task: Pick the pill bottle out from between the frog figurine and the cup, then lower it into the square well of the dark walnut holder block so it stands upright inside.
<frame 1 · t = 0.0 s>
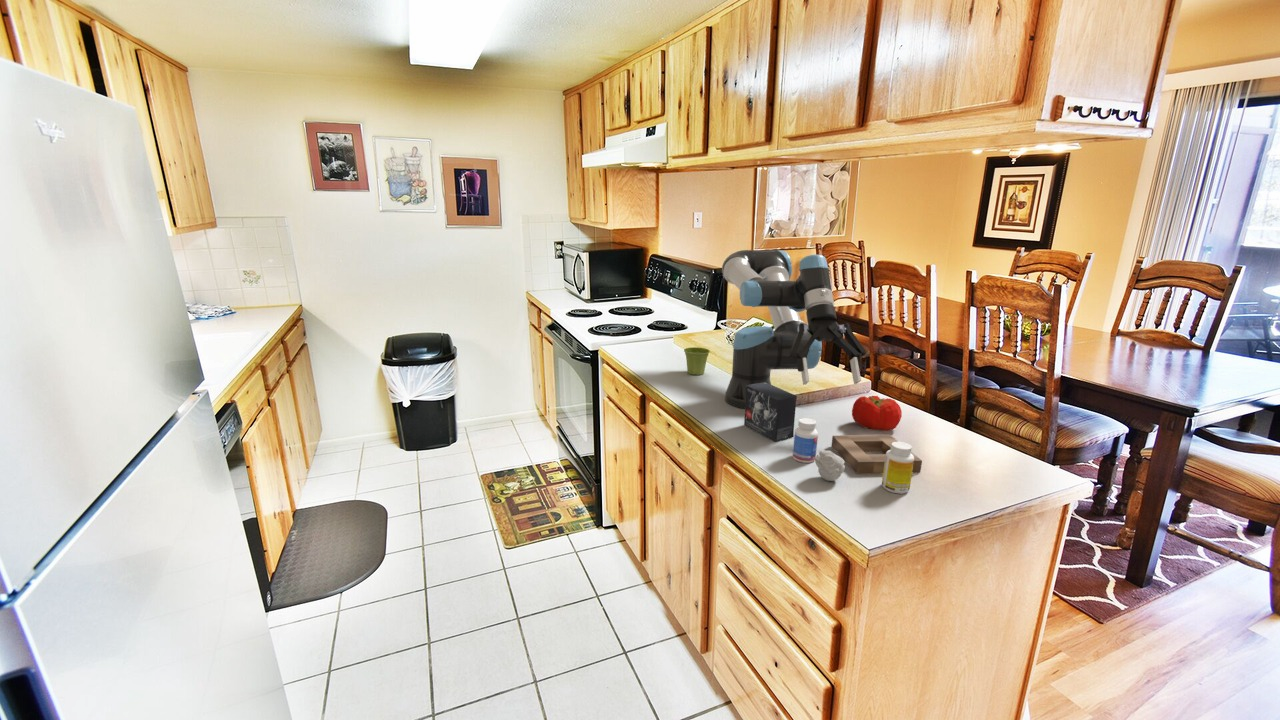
hand: (831, 382, 141), 15 cm above the counter, tool tilted 35°, fingers open, 13 cm apart
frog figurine: (827, 480, 123), on the counter
pill bottle: (803, 459, 133), on the counter
plant pot: (696, 373, 202), on the counter
small box: (767, 432, 149), on the counter
supplement bottle: (895, 489, 119), on the counter
tomato: (874, 427, 153), on the counter
walnut holder block: (873, 458, 133), on the counter
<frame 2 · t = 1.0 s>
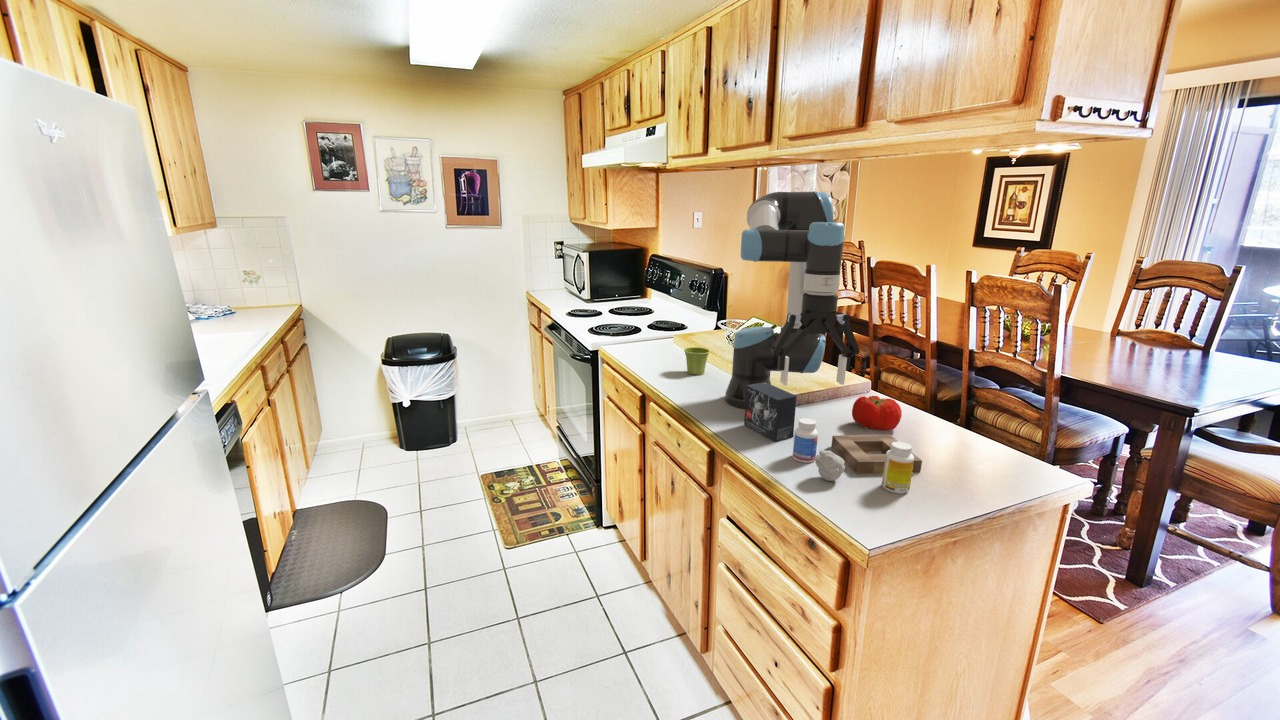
hand: (811, 383, 128), 19 cm above the counter, tool pointing down, fingers open, 13 cm apart
nothing on the counter moved.
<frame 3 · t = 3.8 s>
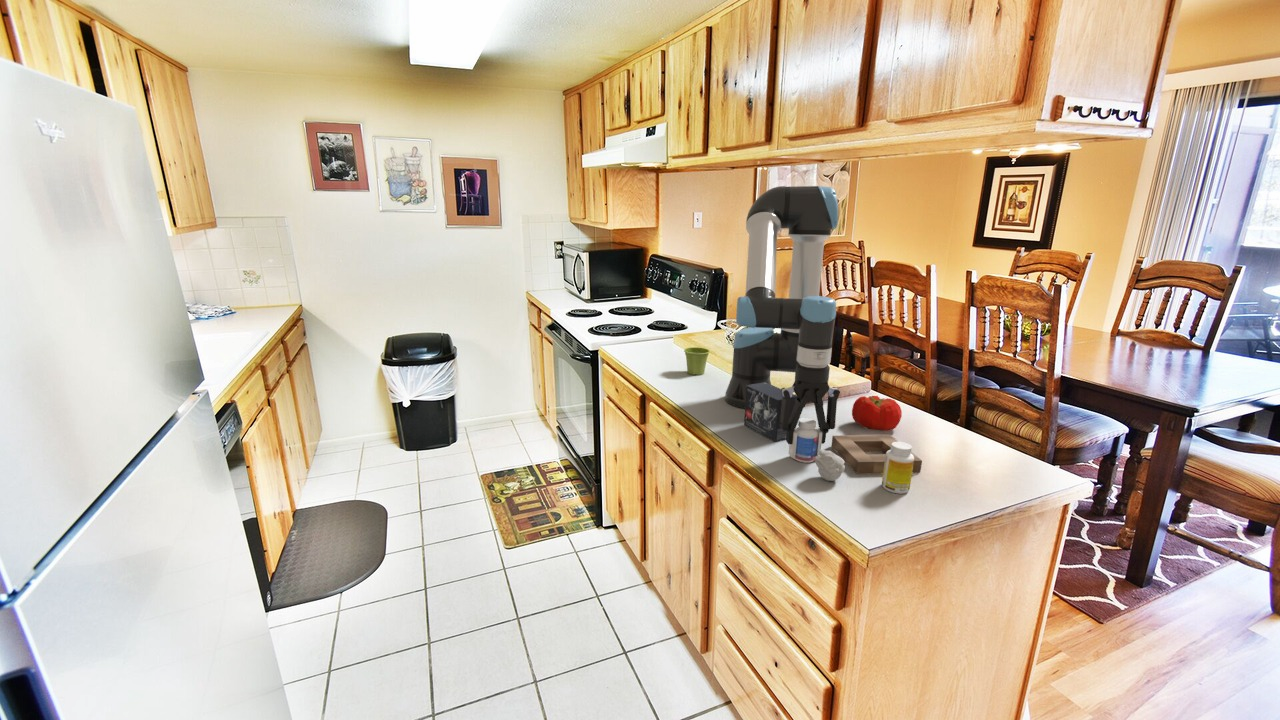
hand: (804, 455, 133), 1 cm above the counter, tool pointing down, fingers closed on pill bottle, 5 cm apart
pill bottle: (803, 459, 133), on the counter, touching gripper
everything else where it was.
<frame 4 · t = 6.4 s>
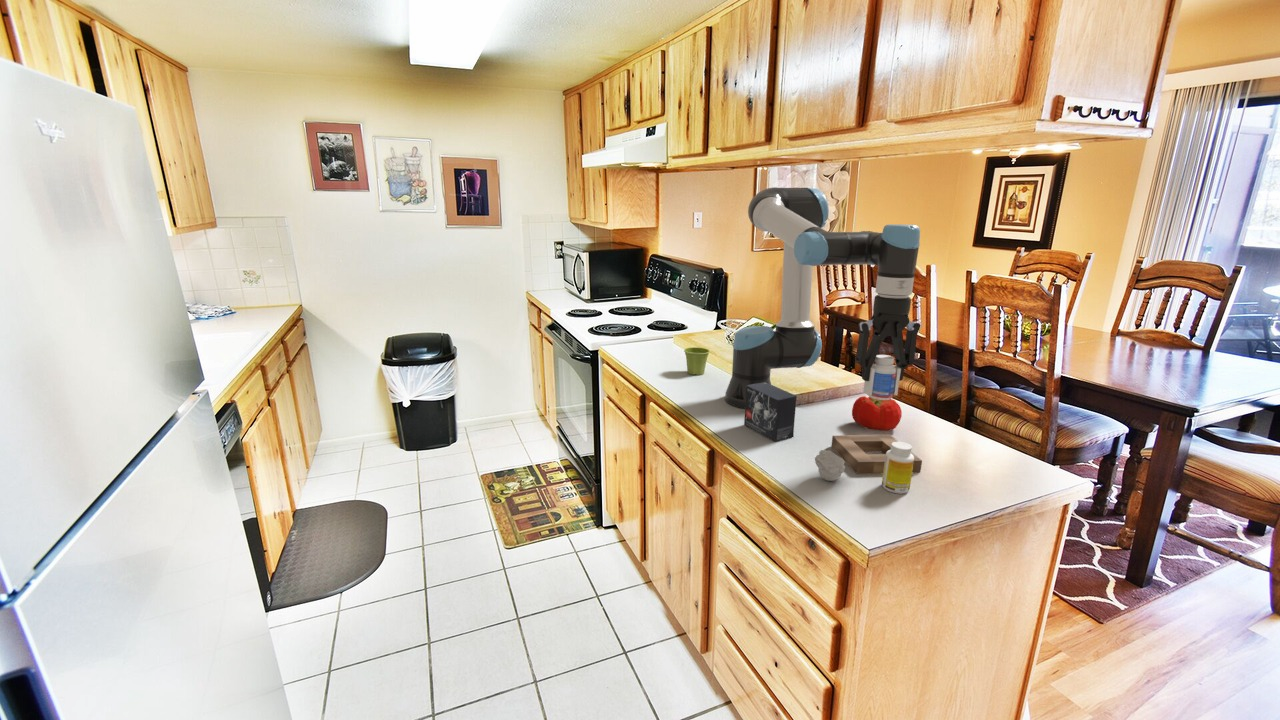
hand: (880, 393, 129), 17 cm above the counter, tool pointing down, fingers closed on pill bottle, 5 cm apart
pill bottle: (879, 397, 129), point 16 cm above the counter, touching gripper
everything else where it was.
when the fingers open (5 cm above the counter, at t = 9.3 s): pill bottle drops 4 cm, resting in walnut holder block.
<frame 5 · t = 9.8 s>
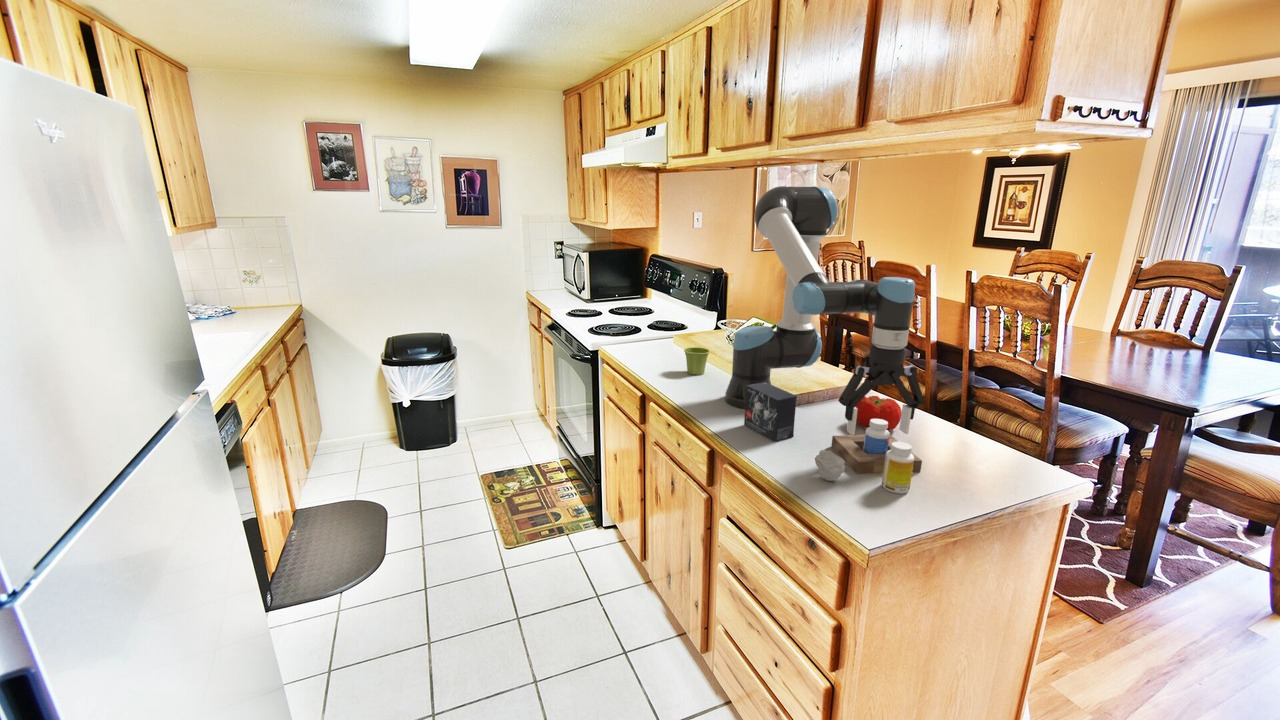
hand: (877, 432, 131), 7 cm above the counter, tool pointing down, fingers open, 12 cm apart
pill bottle: (874, 459, 133), resting in walnut holder block
everything else where it was.
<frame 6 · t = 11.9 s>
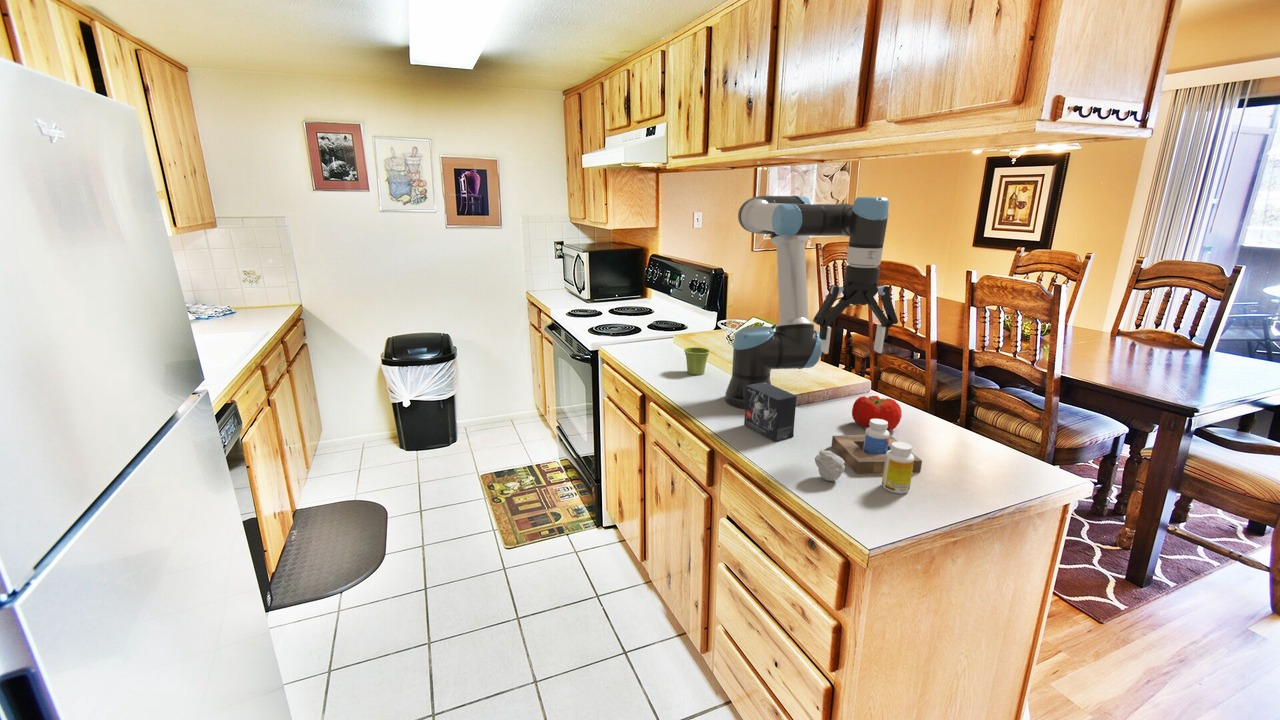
hand: (851, 352, 135), 25 cm above the counter, tool pointing down, fingers open, 13 cm apart
nothing on the counter moved.
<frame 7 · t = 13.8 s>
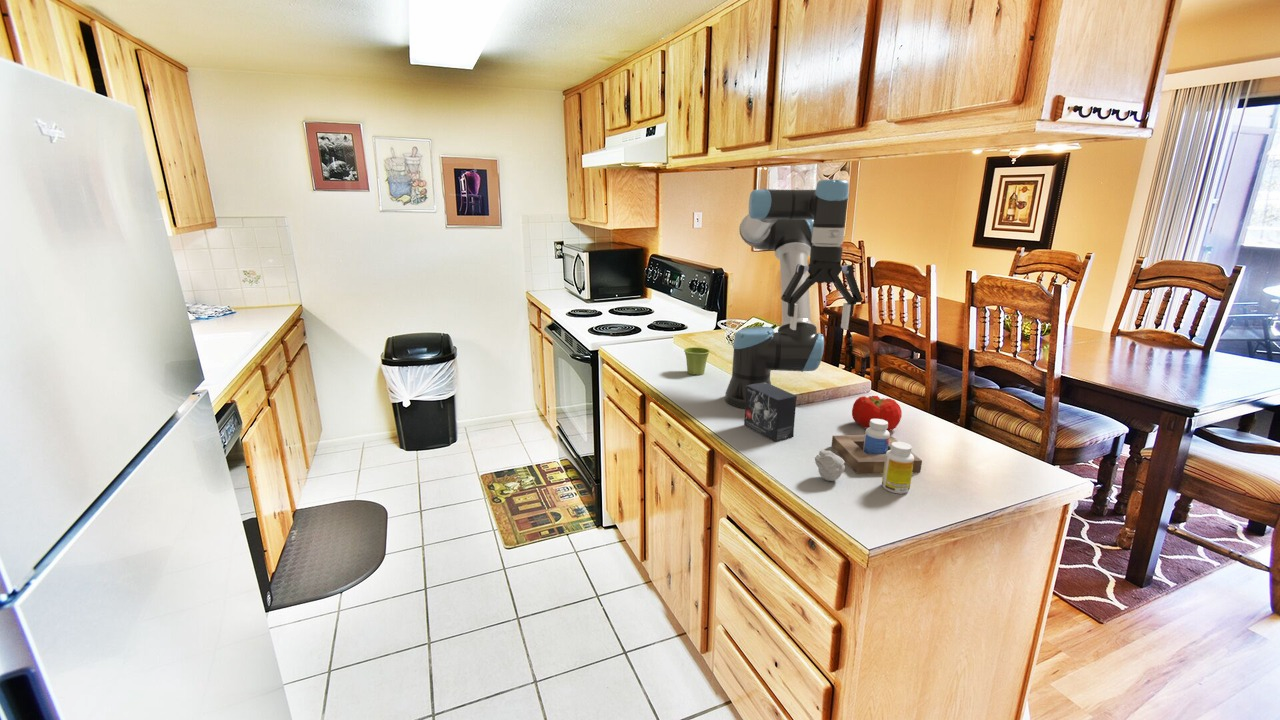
hand: (818, 329, 141), 29 cm above the counter, tool pointing down, fingers open, 13 cm apart
nothing on the counter moved.
at the end: pill bottle 0.1 cm off-centre on the walnut holder block, point 0.0 cm above the walnut holder block's base; pill bottle tilted 0°; the gripper is holding nothing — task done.
